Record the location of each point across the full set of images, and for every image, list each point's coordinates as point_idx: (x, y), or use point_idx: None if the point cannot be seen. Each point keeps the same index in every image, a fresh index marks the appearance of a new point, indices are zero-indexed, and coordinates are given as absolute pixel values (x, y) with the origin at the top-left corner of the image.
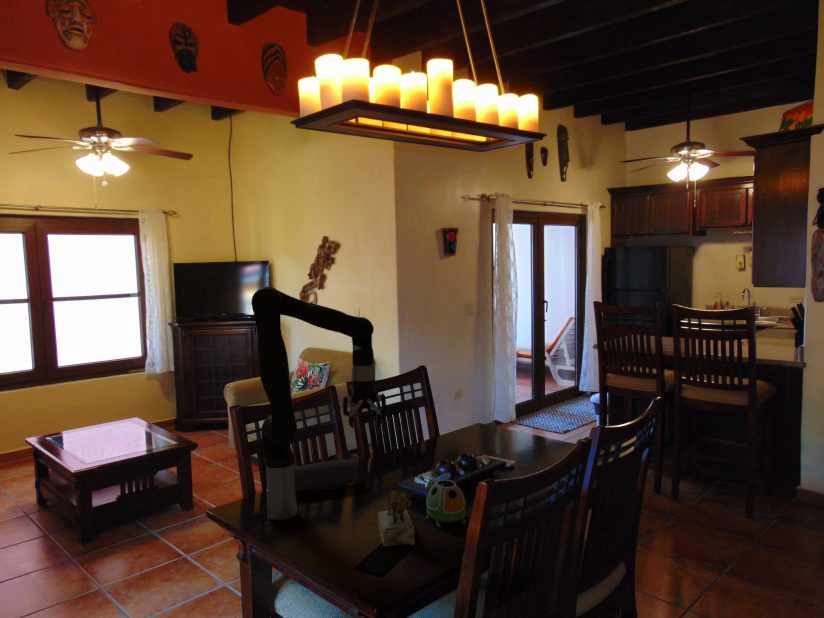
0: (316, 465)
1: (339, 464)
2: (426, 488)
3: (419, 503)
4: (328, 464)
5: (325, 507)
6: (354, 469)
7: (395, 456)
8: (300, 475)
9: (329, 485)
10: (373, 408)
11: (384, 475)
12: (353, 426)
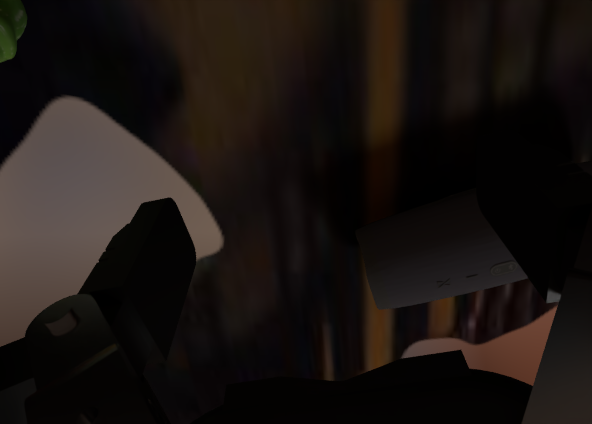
0: None
1: (440, 260)
2: (9, 27)
3: (105, 74)
4: (489, 255)
5: (472, 44)
6: (374, 249)
7: None
8: None
9: (460, 192)
10: (118, 372)
11: (273, 299)
12: (485, 137)
